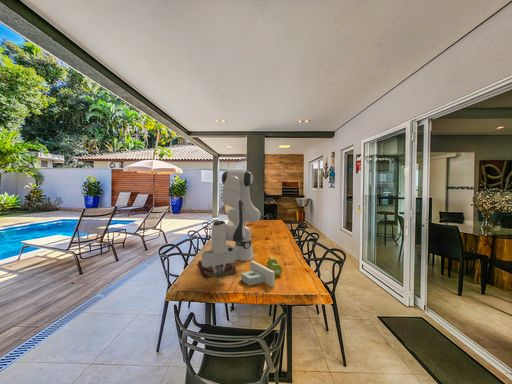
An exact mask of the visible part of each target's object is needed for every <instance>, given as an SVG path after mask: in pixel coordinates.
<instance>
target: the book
mask: <svg viewBox="0 0 512 384" xmlns="http://www.w3.org/2000/svg"><path fill="white" fill-rule="evenodd" d="M197 265H198V266H199V267H198V268H199V269H200V271H201V274H202V277H203V278H204V279H205V278H207V277H208V278H209V277H216V273H214V270H213V268H212V266H211V267H206V268H204V267H203V266H202V260H198V262H197ZM222 266H223V265H221V268H222ZM214 268H215V269H216V266H215V267H214ZM236 271H237V268H236V267H235V265H233V263H228V264H226V266H225V268H224V271H223V272H221V276H229V275H236V274H237V273H236Z"/></svg>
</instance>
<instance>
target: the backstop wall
mask: <svg viewBox="0 0 512 384" xmlns="http://www.w3.org/2000/svg"><path fill="white" fill-rule="evenodd" d="M255 270H256V271H258V272H259V273H261V274H263V275H265V277H264V283H265V284H266V285H268V286H270V287H275V283H276V280H275V278H276V276H275V272H274V271H272V270H270V269H269V268H268V267H267V266H264V265H263V264H260V263H258V262H256V261H255V260H250V269H249V272H250V271H255Z"/></svg>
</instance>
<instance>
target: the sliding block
mask: <svg viewBox="0 0 512 384" xmlns="http://www.w3.org/2000/svg"><path fill="white" fill-rule="evenodd" d="M264 277H265V275H263V274H261V273H259V272H258V271H256V270H255V271H250V270H249V271H245V272H241V273H240V280H241V281H242V282H243V283H245V284H247V285H248V286H255V285H258V284H262V283H265V282H264Z"/></svg>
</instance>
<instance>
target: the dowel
mask: <svg viewBox="0 0 512 384" xmlns="http://www.w3.org/2000/svg"><path fill="white" fill-rule="evenodd" d="M216 270H217V273H216V276H215V277H216V279H222V275H221V265H217V266H216Z"/></svg>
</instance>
